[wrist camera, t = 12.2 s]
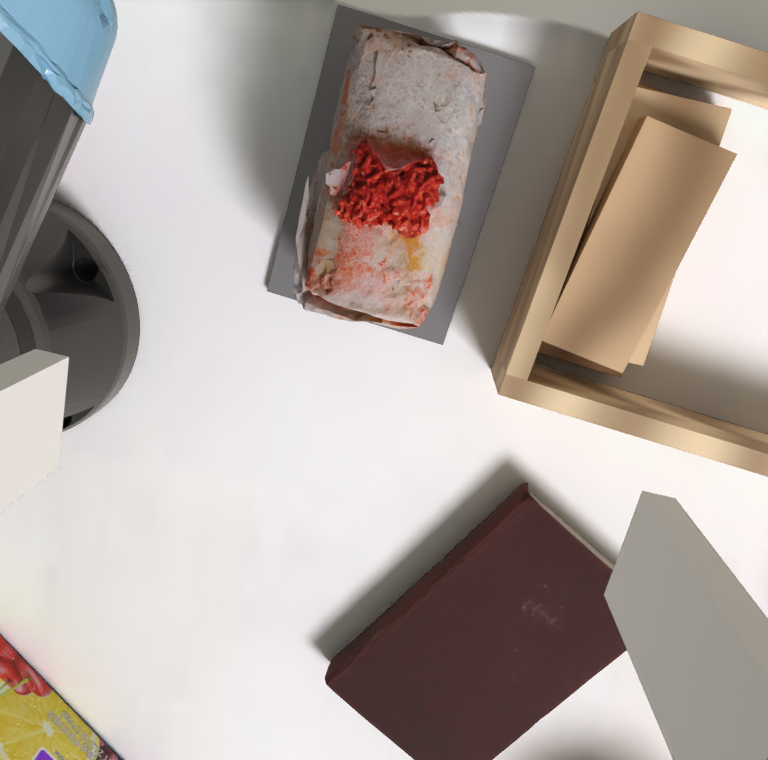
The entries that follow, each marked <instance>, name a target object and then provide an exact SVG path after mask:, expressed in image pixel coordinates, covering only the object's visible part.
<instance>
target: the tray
mask: <svg viewBox="0 0 768 760" xmlns="http://www.w3.org/2000/svg"><path fill="white" fill-rule="evenodd" d="M644 70H645V71H648V72H651V73H654V74H658V75H661V76H664V77H667V78H670V79H673V80H677V81H680V82H683V83H686V84H689V85H692V86H696V87H699V88H702V89H705V90H708V91H711V92H715V93H718V94H721V95H724V96H727V97H730V98H734V99H737V100H740V101H743V102H746V103H749V104H753V105H756V106H759V107H762V108H765V109H768V53H767V52H763V51H760V50H757V49H754V48H751V47H748V46H745V45H741V44H738V43H735V42H732V41H729V40H726V39H723V38H719V37H716V36H713V35H710V34H707V33H704V32H701V31H697V30H694V29H691V28H688V27H685V26H682V25H679V24H675V23H672V22H669V21H666V20H662V19H659V18H657V17H653V16H650V15H647V14H644V13H640V12H637V13H636V14H634V15H633V16H632V17H631V18H629V19H628V20H627V21H626V22H625V23H623V24H622V25H621V26H620V27H618V28H617V29H616V30H615V31H614V32H612V33H611V35H610V38H609V41H608V43H607V46H606V49H605V52H604V55H603V57H602V60H601V63H600V66H599V69H598V71H597V74H596V77H595V80H594V83H593V85H592V88H591V91H590V94H589V97H588V99H587V102H586V105H585V108H584V111H583V113H582V116H581V119H580V122H579V125H578V127H577V130H576V133H575V136H574V138H573V141H572V144H571V147H570V150H569V152H568V155H567V158H566V161H565V164H564V166H563V169H562V172H561V175H560V178H559V180H558V183H557V186H556V189H555V192H554V194H553V197H552V200H551V203H550V206H549V208H548V211H547V214H546V217H545V220H544V222H543V225H542V228H541V231H540V234H539V236H538V239H537V242H536V245H535V248H534V250H533V253H532V256H531V259H530V262H529V264H528V267H527V270H526V273H525V276H524V278H523V281H522V284H521V287H520V290H519V292H518V295H517V298H516V301H515V304H514V306H513V309H512V312H511V315H510V318H509V320H508V323H507V326H506V329H505V332H504V334H503V337H502V340H501V343H500V346H499V348H498V351H497V354H496V357H495V360H494V362H493V365H492V368H491V372H492V375H493V379H494V382H495V385H496V388H497V392H498V394H499V395H502V396H505V397H509V398H512V399H515V400H518V401H522V402H525V403H528V404H531V405H535V406H538V407H541V408H545V409H548V410H551V411H554V412H558V413H561V414H564V415H567V416H571V417H574V418H577V419H581V420H584V421H587V422H590V423H594V424H597V425H600V426H604V427H607V428H610V429H613V430H617V431H620V432H623V433H626V434H630V435H633V436H636V437H640V438H643V439H646V440H649V441H653V442H656V443H659V444H662V445H666V446H669V447H672V448H676V449H679V450H682V451H685V452H689V453H692V454H695V455H699V456H702V457H705V458H708V459H712V460H715V461H718V462H721V463H725V464H728V465H731V466H735V467H738V468H741V469H744V470H748V471H751V472H754V473H757V474H761V475H764V476H767V477H768V435H767V434H764V433H761V432H758V431H754V430H751V429H748V428H745V427H741V426H738V425H735V424H732V423H728V422H725V421H722V420H718V419H715V418H712V417H709V416H705V415H702V414H699V413H696V412H692V411H689V410H686V409H683V408H679V407H676V406H673V405H670V404H666V403H663V402H660V401H656V400H653V399H650V398H647V397H643V396H640V395H637V394H634V393H630V392H627V391H624V390H621V389H617V388H614V387H611V386H608V385H604V384H601V383H598V382H594V381H591V380H588V379H585V378H581V377H578V376H575V375H572V374H568V373H565V372H562V371H559V370H555V369H552V368H549V367H546V366H542V365H539V364H536V363H534V361H535V358H536V356H537V353H538V350H539V348H540V345H541V342H542V340H543V337H544V334H545V332H546V329H547V326H548V324H549V321H550V318H551V316H552V313H553V310H554V308H555V305H556V302H557V300H558V297H559V294H560V292H561V289H562V286H563V284H564V281H565V278H566V276H567V273H568V270H569V268H570V265H571V262H572V260H573V257H574V254H575V252H576V249H577V246H578V244H579V241H580V238H581V236H582V233H583V230H584V228H585V225H586V222H587V220H588V217H589V214H590V212H591V209H592V206H593V204H594V201H595V198H596V196H597V193H598V190H599V188H600V185H601V182H602V180H603V177H604V174H605V172H606V169H607V166H608V164H609V161H610V158H611V156H612V153H613V150H614V148H615V145H616V142H617V140H618V137H619V135H620V132H621V129H622V127H623V124H624V121H625V119H626V116H627V113H628V111H629V108H630V105H631V103H632V100H633V97H634V95H635V92H636V89H637V87H638V84H639V81H640V79H641V76H642V73H643V71H644Z"/></svg>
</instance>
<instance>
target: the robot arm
mask: <svg viewBox="0 0 768 760" xmlns="http://www.w3.org/2000/svg"><path fill="white" fill-rule="evenodd" d="M117 27H118V26H117V13H116V8H115V5H114V1H113V0H0V514H1V513H2V512H3V511H4V510H6V509H7V508H8V507H9V506H11V505H12V504H13V503H15V502H16V501H17V500H18V499H20V498H21V497H22V496H23V495H25V494H26V493H27V492H28V491H30V490H31V489H32V488H34V487H35V486H36V485H37V484H39V483H40V482H41V481H42V480H44V479H45V478H46V477H48V476H49V475H50V474H51V473H53V472H54V471H55V470H56V469H58V468H59V458H60V448H61V437H62V432H63V431H66V430H68V429H70V428H73V427H74V426H76V425H78V424H80V423H81V422H83V421H84V420H86V419H87V418H89V417H90V416H92V415H93V414H95V413H96V412H98V411H99V410H100V409H102V408H103V407H104V406H105V405H107V404H108V403H109V402H110V401H111V400H112V399H113V398H114V397H115V396H116V394H117V393H118V392H119V391H120V389H121V388H122V387H123V385H124V383H125V382H126V380H127V378H128V376H129V374H130V372H131V370H132V367H133V365H134V362H135V359H136V355H137V351H138V345H139V336H140V319H139V310H138V304H137V299H136V295H135V292H134V288H133V285H132V283H131V280H130V277H129V275H128V273H127V271H126V269H125V267H124V265H123V263H122V261H121V259H120V258H119V256H118V255H117V253H116V252H115V250H114V249H113V247H112V246H111V245H110V243H109V242H108V241H107V240H106V238H105V237H104V236H103V235H102V234H101V233H100V232H99V231H98V230H97V229H96V228H95V227H94V226H93V225H92V224H91V223H90V222H89V221H87V220H86V219H85V218H84V217H82V216H81V215H80V214H78V213H77V212H75V211H74V210H72V209H71V208H69V207H68V206H66V205H64V204H62V203H60V202H58V201H56V200H54V199H53V197H54V194H55V192H56V190H57V188H58V185H59V183H60V181H61V179H62V176H63V174H64V172H65V169H66V167H67V165H68V163H69V160H70V158H71V156H72V154H73V151H74V149H75V147H76V145H77V142H78V140H79V138H80V136H81V133H82V131H83V129H84V126H85V124H86V123H88V124H91V122H92V120H93V116H94V111H93V107H92V104H93V101H94V98H95V95H96V92H97V89H98V86H99V83H100V81H101V78H102V75H103V72H104V70H105V67H106V64H107V62H108V59H109V56H110V53H111V51H112V48H113V45H114V42H115V39H116V35H117ZM604 596H605V599H606V601H607V603H608V606H609V608H610V611H611V613H612V615H613V618H614V620H615V622H616V625H617V627H618V630H619V632H620V634H621V637H622V639H623V642H624V644H625V646H626V649H627V651H628V653H629V656H630V658H631V661H632V663H633V665H634V668H635V670H636V672H637V675H638V677H639V680H640V682H641V684H642V687H643V689H644V692H645V694H646V696H647V699H648V701H649V703H650V706H651V708H652V711H653V713H654V715H655V718H656V720H657V722H658V725H659V727H660V730H661V732H662V734H663V737H664V739H665V741H666V744H667V746H668V749H669V751H670V753H671V756H672V758H673V760H768V618H767V617H766V616H765V614H764V613H763V612H762V610H761V609H760V608H759V607H758V605H757V604H756V603H755V601H754V600H753V599H752V597H751V596H750V595H749V594H748V592H747V591H746V590H745V588H744V587H743V586H742V584H741V583H740V582H739V581H738V579H737V578H736V577H735V575H734V574H733V573H732V571H731V570H730V569H729V568H728V566H727V565H726V564H725V562H724V561H723V560H722V558H721V557H720V556H719V554H718V553H717V552H716V551H715V549H714V548H713V547H712V545H711V544H710V543H709V541H708V540H707V539H706V538H705V536H704V535H703V534H702V532H701V531H700V530H699V528H698V527H697V526H696V525H695V523H694V522H693V521H692V519H691V518H690V517H689V515H688V514H687V513H686V512H685V510H684V509H683V508H682V506H681V505H680V504H679V502H678V501H677V500H676V499H675V498H671V497H667V496H662V495H658V494H654V493H650V492H645V491H642V493H641V496H640V498H639V501H638V504H637V506H636V509H635V512H634V515H633V517H632V520H631V523H630V525H629V528H628V531H627V534H626V536H625V539H624V542H623V544H622V547H621V550H620V553H619V555H618V558H617V561H616V563H615V566H614V569H613V572H612V574H611V577H610V580H609V582H608V585H607V588H606V591H605V593H604Z"/></svg>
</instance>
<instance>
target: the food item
mask: <svg viewBox="0 0 768 760" xmlns="http://www.w3.org/2000/svg"><path fill="white" fill-rule="evenodd" d="M350 44H351V48H350V52H349V55H348V60H347V63H346V66H345V71H344V79H343V83H342V86H341V87H340V90H339V100H338V103H337V107H336V112H335V115H334V118H333V128H332V134H331V139H330V150H328V151H326V152H325V153H323V154H321V156H320V158H319V160H318V163H317V167H316V170H315V174H314V175H313V181H312V185H311V187H310V189H308V177H307V179H306V182H305V187H304V195H303V202H302V207H301V211H300V214H299V220H298V229H297V234H296V238H295V246H296V251H295V261H294V266H293V275H294V281H295V285H294V287H293V288H292V289H293V293H294V297H295V298H296V300H297V301H298V303H301V304H302V305H303V308H304V310H308V311H313V312H316V313H320V314H326V315H328V316H331V317H334V318H337V319H342V320H346V321H351V322H358V321H371V322H374V323H376V324H380V325H384V326H388V327H392V328H397V329H409V328H417V327H419V326H420V325H421V324H422V322H423V321H424V320H425V318H426V316H427V314H428V312H429V310H430V309H431V307H432V306H433V303H434V301H435V299H436V297H437V293H438V290H439V287H440V283H441V280H442V277H443V273H444V270H445V266H446V263H447V259H448V256H449V252H450V249H451V245H452V239H453V236H454V233H455V229H456V226H457V227H458V228H460V225H461V221H459V220H458V218H459V214H460V210H461V206H462V202H463V198H464V188H465V184H466V179H467V174H468V170H469V166H470V162H471V152H472V150H473V144H474V141H475V137H476V136H477V137H479V135H478V133H477V129H478V126H479V125H480V124H481V120H482V116H483V112H484V107H486V106H487V105H486V95H485V93H486V90H485V89H486V87H487V74H488V73H487V72H485V70H484V69H483V66H482V64H481V62H480V61H479V60H478V59H477V57H476V56H475V55H474V53H472V52H470V51H468V50H467V49H466V48H465V47H459V45H458V43H457V40H455V41H453V42H451V43H448V42H447V41H442V40H433V39H429V38H426V37H422V36H419V35H415V34H411V33H407V32H402V31H397V30H390V29H384V28H378V27H372V26H366V25H360V26H356V27H355V30H354V33H353V36H352V39H351V41H350Z"/></svg>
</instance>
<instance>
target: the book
mask: <svg viewBox="0 0 768 760" xmlns="http://www.w3.org/2000/svg"><path fill="white" fill-rule="evenodd" d="M527 484H528V483H525V484H523V485H521V486H520V487H519V488H518V489H517V490H516V491H515V492H514V493H512V494H511V495H510V496H509V497H508V498H507V499H506V500H505V501H504V502H503V503H502V504H501V505H500V506H499V507H498V508H497V509H496V510H495V511H494V512H493V513H492V514H491V515H490V516H489V517H488V518H486V519H485V520H484V521H483V522H482V523H481V524H480V525H478V526H477V527H476V528H475V529H474V530H473V531H472V532H471V533H470V534H469V535H468V536H467V537H466V538H465V539H464V540H463V541H461V542H460V543H459V544H458V545H457V546H456V547H455V548H454V549H453V550H452V551H451V552H450V553H448V554H447V555H446V557H445V558H444V559H443V560H442V561H441V562H440V563H438V564H437V565H436V566H434V567H433V568H432V569H431V570H430V571H429V572H428V573H427V574H426V575H425V576H423V577H422V578H421V579H420V580H419V581H418V582H417V583H416V584H415V585H414V586H413V587H412V588H411V589H409V590H408V591H407V592H406V593H405V594H404V595H403V596H402V597H401V598H400V599H399V600H398V601H397V602H395V603H394V604H393V605H392V606H391V607H390V608H389V609H388V610H387V611H386V612H385V613H383V614H382V615H381V616H380V617H379V618H378V619H377V620H376V621H375V622H374V623H372V624H371V625H370V626H369V627H368V628H367V629H366V630H365V631H363V632H362V633H361V634H360V635H359V636H358V637H357V638H356V639H355V640H353V641H352V642H351V643H350V644H349V645H347V646H346V647H345V648H344V649H343V650H342V651H341V652H339V653H338V654H337V655H336V656H335V657H334V658H333V659H332V661H331V663H330V665H329V667H328V670H327V673H326V676H325V681H326V684H327V685H328V686H329V687H330V688H331V689H332V690H333V691H334V692H335V693H336V694H337V695H339V696H340V697H341V698H342V699H343V700H344V701H345V702H347V703H348V704H349V705H350V706H351V707H352V708H353V709H355V710H356V711H357V712H358V713H359V714H360V715H362V716H363V717H364V718H365V719H366V720H367V721H369V722H370V723H371V724H372V725H373V726H375V727H376V728H377V729H378V730H379V731H381V732H382V733H383V734H384V735H385V736H387V737H388V738H389V739H390V740H391V741H393V742H394V743H395V744H396V745H397V746H399V747H400V748H401V749H402V750H403V751H405V752H406V753H407V754H408V755H409V756H411V757H412V758H413V759H414V760H492V759H494V758H495V757H496V756H497V755H499V754H500V753H501V752H502V751H504V750H505V749H506V748H507V747H509V746H510V745H511V744H512V743H513V742H515V741H516V740H517V739H518V738H519V737H520V736H521V735H523V734H524V733H525V732H526V731H527V730H529V729H530V728H531V727H532V726H533V725H534V724H535V723H537V722H538V721H539V720H540V719H541V718H543V717H544V716H545V715H547V714H548V713H549V712H551V711H552V710H553V709H554V708H556V707H557V706H558V705H559V704H560V703H562V702H563V701H564V700H565V699H567V698H568V697H569V696H570V695H571V694H573V693H574V692H575V691H576V690H577V689H579V688H580V687H581V686H582V685H584V684H585V683H586V682H587V681H588V680H590V679H591V678H592V677H593V676H595V675H596V674H597V673H598V672H600V671H601V670H602V669H604V668H605V667H606V666H607V665H609V664H610V663H611V662H612V661H614V660H615V659H616V658H617V657H619V656H620V655H621V654H622V653H624V652H625V651H626V650H627V649H626V646H625V644H624V642H623V639H622V637H621V634H620V632H619V630H618V627H617V625H616V622H615V620H614V618H613V615H612V613H611V611H610V608H609V606H608V603H607V601H606V599H605V596H604V593H605V591H606V588H607V585H608V582H609V580H610V577H611V574H612V572H613V569H614V566H615V565H614V564H612V563H611V562H610V561H609V560H608V559H607V558H605V557H604V556H603V555H602V554H601V553H600V552H598V551H597V550H596V549H595V548H594V547H593V546H592V545H590V544H589V543H588V542H587V541H586V540H585V539H584V538H582V537H581V536H580V535H579V534H578V533H577V532H576V531H574V530H573V529H572V528H571V527H570V526H569V525H568V524H567V523H565V522H564V521H563V520H562V519H561V518H560V517H559V516H557V515H556V514H555V513H554V512H553V511H552V510H550V509H549V508H548V507H547V506H546V505H545V504H544V503H542V502H541V501H540V500H539V499H538V498H537V497H536V496H534V495H533V494H532V493H531V492H530V491H529V490H528V487H527Z"/></svg>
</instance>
